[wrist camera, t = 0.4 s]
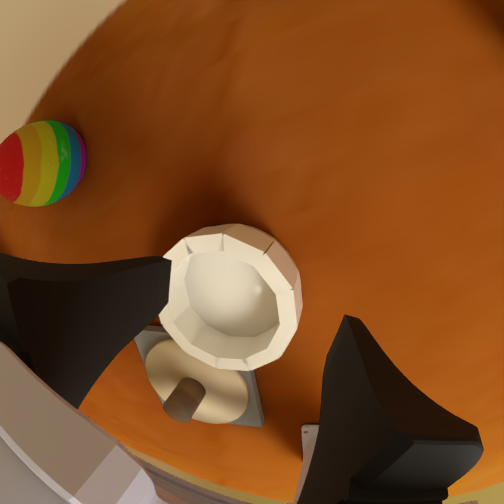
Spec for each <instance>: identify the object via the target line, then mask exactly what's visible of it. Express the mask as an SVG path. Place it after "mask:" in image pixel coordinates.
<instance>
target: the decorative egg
mask: <svg viewBox="0 0 504 504" xmlns="http://www.w3.org/2000/svg"><path fill="white" fill-rule="evenodd" d="M86 162H87V152H86V147H85V144H84V141H83V139H82V138H81V136H80V135H79V134H78V132H77V131H75V130H74V129H73V128H72V127H70V126H69V125H67V124H64V123H62V122H58V121H38V122H34V123H31V124H28V125H25V126H23V127H21V128H19V129H18V130H16V131H15V132H13V133H12V134H11V135H9V136H8V137H7V138H6V139H5V140H4V141H3V142H2V143H1V144H0V194H1V195H2V196H3V197H4V198H6V199H7V200H9V201H11V202H13V203H16V204H19V205H23V206H45V205H49V204H52V203H55V202H57V201H59V200H61V199H63V198H64V197H66V196H67V195H68V194H69V193H71V192H72V191H73V190H74V189H75V187H76V186H77V185H78V183H79V182H80V180H81V179H82V177H83V175H84V172H85V168H86Z"/></svg>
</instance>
